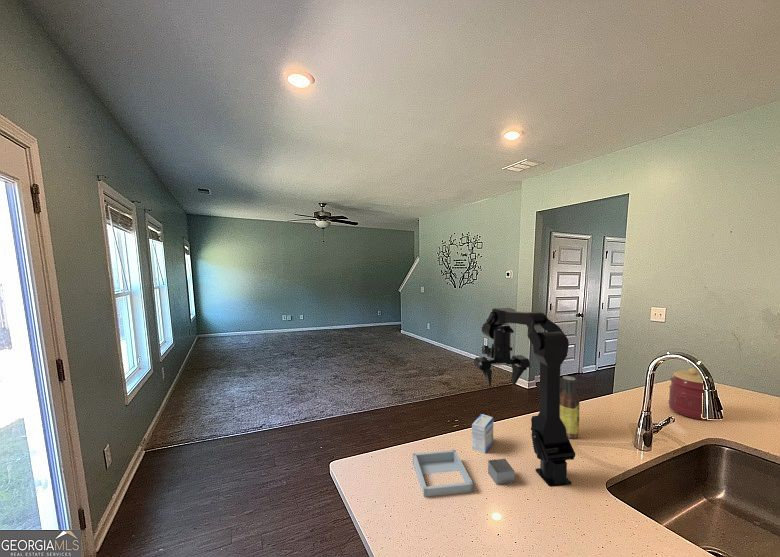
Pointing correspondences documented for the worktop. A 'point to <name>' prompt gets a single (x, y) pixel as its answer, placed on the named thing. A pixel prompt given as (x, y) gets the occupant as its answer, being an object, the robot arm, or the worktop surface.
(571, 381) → the sauce bottle
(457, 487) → the tray
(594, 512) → the worktop surface
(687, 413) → the canister
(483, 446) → the medicine box
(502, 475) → the block
